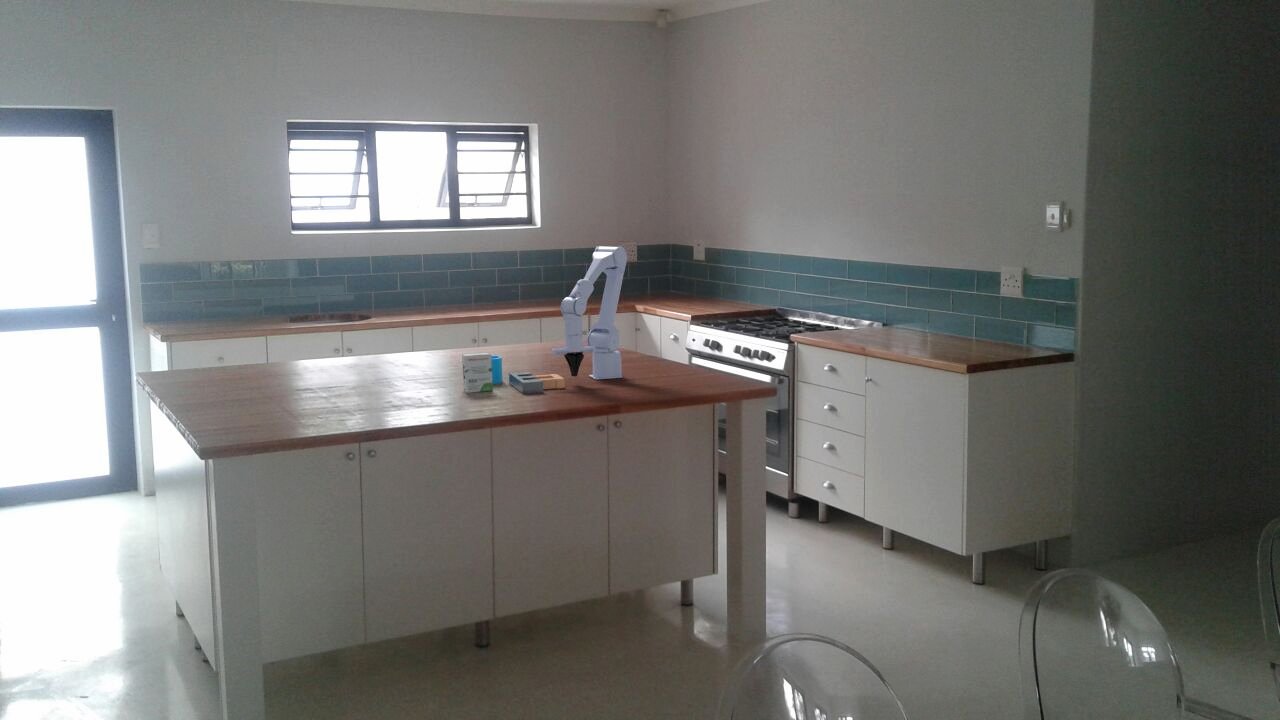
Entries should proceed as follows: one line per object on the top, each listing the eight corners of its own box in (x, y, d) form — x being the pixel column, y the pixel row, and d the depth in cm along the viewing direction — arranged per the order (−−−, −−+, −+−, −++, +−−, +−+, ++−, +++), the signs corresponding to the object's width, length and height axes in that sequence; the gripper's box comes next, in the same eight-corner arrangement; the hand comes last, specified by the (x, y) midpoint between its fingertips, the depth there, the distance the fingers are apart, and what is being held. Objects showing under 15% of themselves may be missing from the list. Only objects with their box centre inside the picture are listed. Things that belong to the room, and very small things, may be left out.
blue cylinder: (504, 383, 372) (503, 358, 371) (479, 384, 370) (478, 360, 369) (499, 377, 384) (498, 353, 383) (475, 378, 382) (474, 354, 381)
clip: (556, 382, 371) (556, 373, 371) (564, 387, 362) (564, 378, 361) (534, 384, 369) (534, 375, 368) (541, 389, 359) (541, 380, 359)
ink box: (489, 388, 363) (488, 352, 361) (493, 390, 358) (492, 354, 356) (463, 390, 360) (461, 353, 358) (466, 393, 355) (464, 355, 353)
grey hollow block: (528, 382, 373) (528, 371, 373) (543, 392, 354) (542, 381, 354) (509, 383, 371) (508, 373, 371) (522, 393, 352) (522, 382, 352)
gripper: (589, 331, 372) (590, 372, 374) (548, 334, 366) (549, 375, 368) (597, 334, 366) (598, 375, 368) (555, 336, 360) (556, 378, 362)
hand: (574, 375), depth 367 cm, fingers closed
